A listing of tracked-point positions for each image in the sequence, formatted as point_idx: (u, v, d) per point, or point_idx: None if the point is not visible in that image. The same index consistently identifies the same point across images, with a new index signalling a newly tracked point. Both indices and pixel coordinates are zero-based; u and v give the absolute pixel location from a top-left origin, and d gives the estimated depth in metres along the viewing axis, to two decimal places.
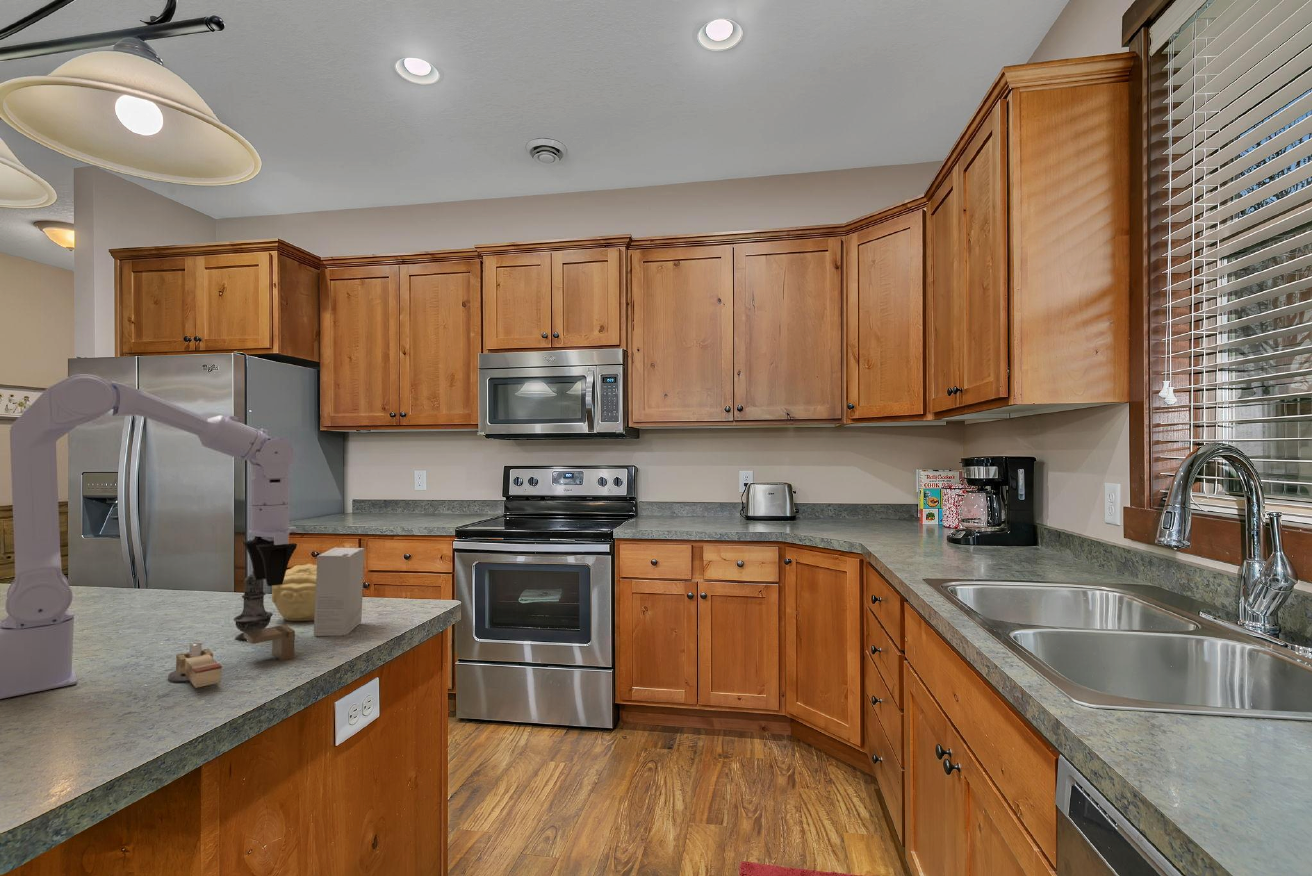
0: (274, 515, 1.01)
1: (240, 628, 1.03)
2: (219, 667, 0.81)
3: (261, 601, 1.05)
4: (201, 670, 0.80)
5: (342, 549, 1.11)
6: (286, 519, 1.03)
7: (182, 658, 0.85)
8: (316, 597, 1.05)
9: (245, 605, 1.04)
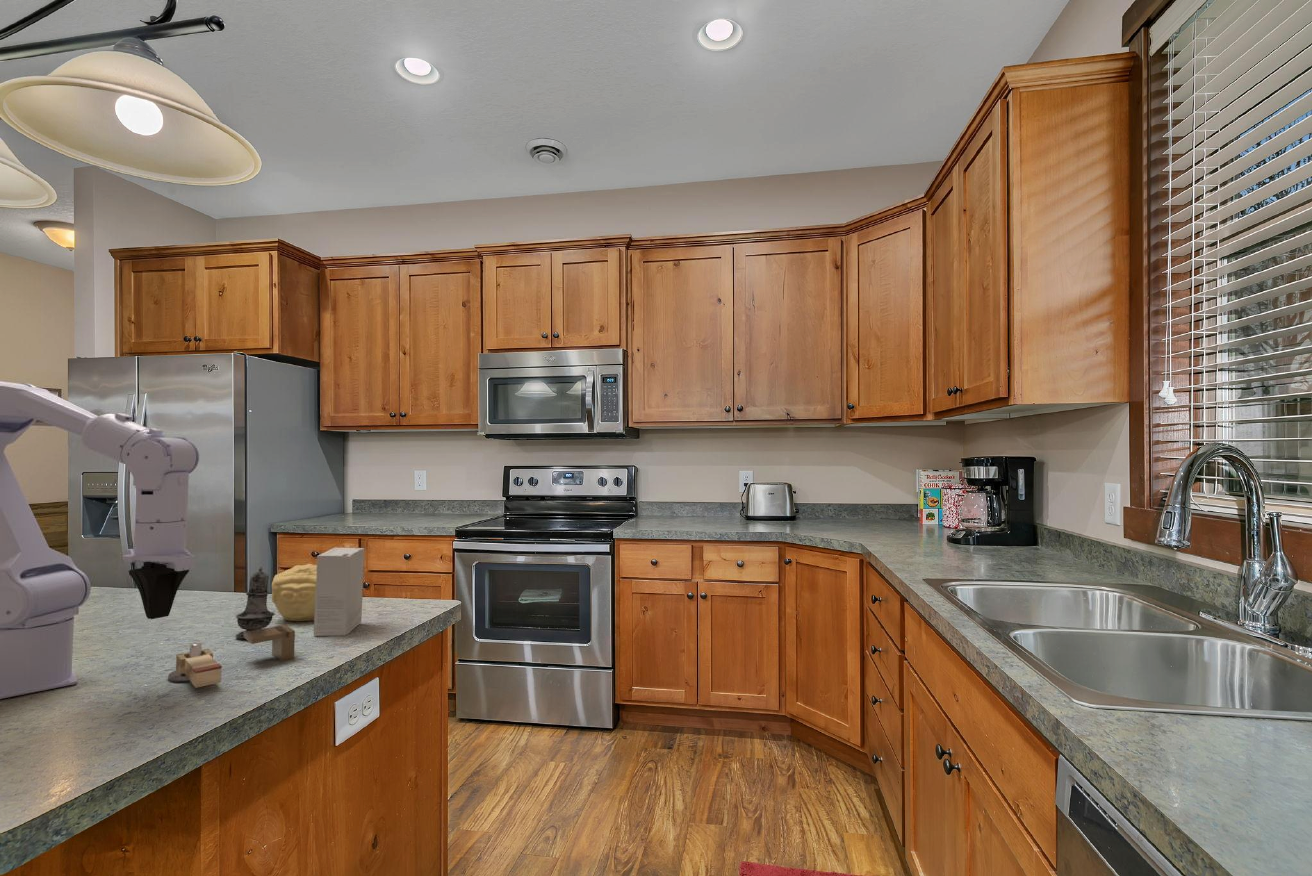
0: None
1: (243, 625, 1.03)
2: (219, 667, 0.81)
3: (265, 599, 1.06)
4: (201, 670, 0.80)
5: (342, 549, 1.11)
6: None
7: (182, 658, 0.85)
8: (316, 597, 1.06)
9: (250, 602, 1.05)
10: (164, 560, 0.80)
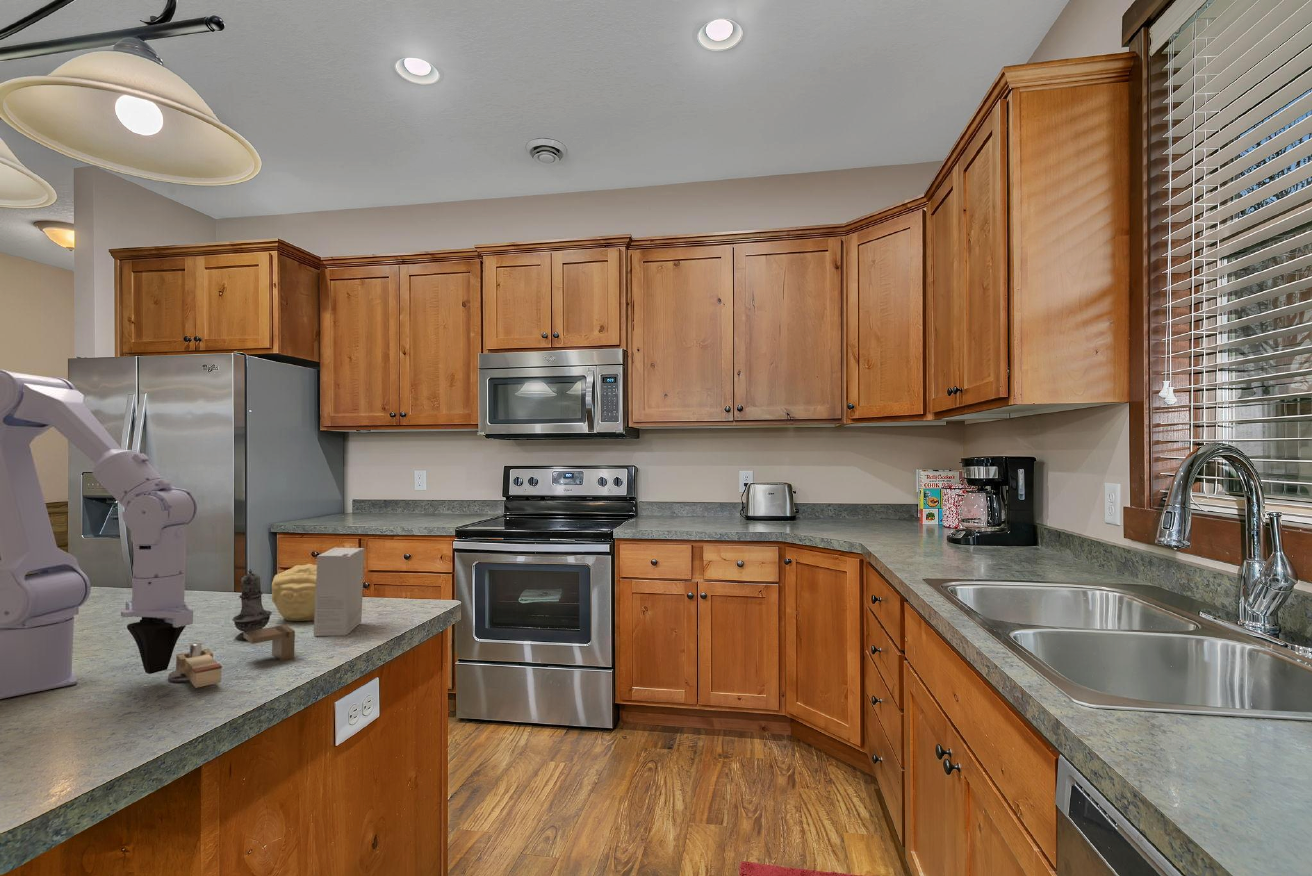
0: None
1: (242, 628, 1.03)
2: (219, 667, 0.81)
3: (260, 600, 1.05)
4: (201, 670, 0.80)
5: (342, 549, 1.11)
6: None
7: (182, 658, 0.85)
8: (316, 597, 1.05)
9: (245, 605, 1.04)
10: (162, 616, 0.80)
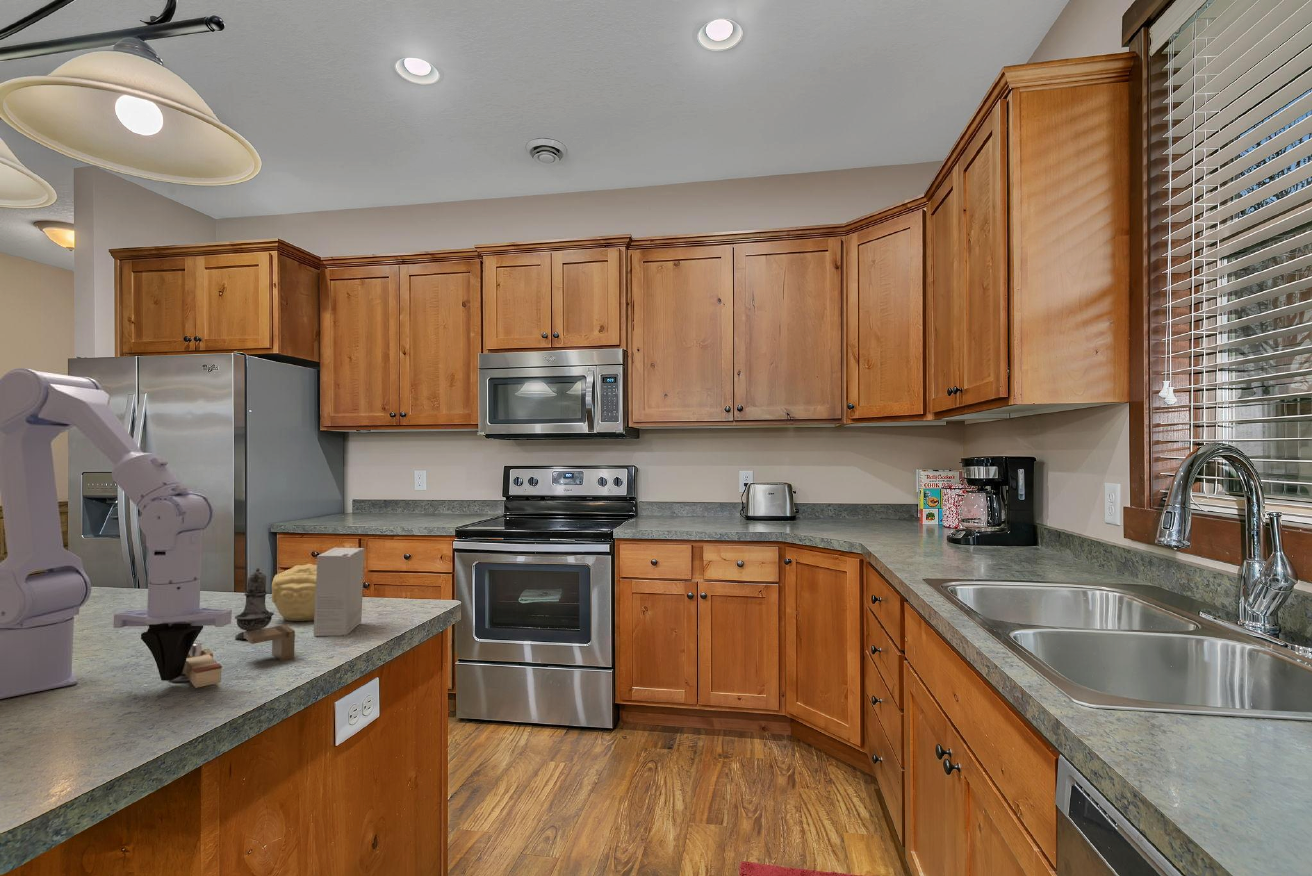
0: None
1: (245, 626, 1.03)
2: (219, 667, 0.81)
3: (264, 599, 1.06)
4: (201, 670, 0.80)
5: (342, 549, 1.11)
6: None
7: None
8: (316, 597, 1.05)
9: (249, 603, 1.05)
10: (201, 618, 0.81)
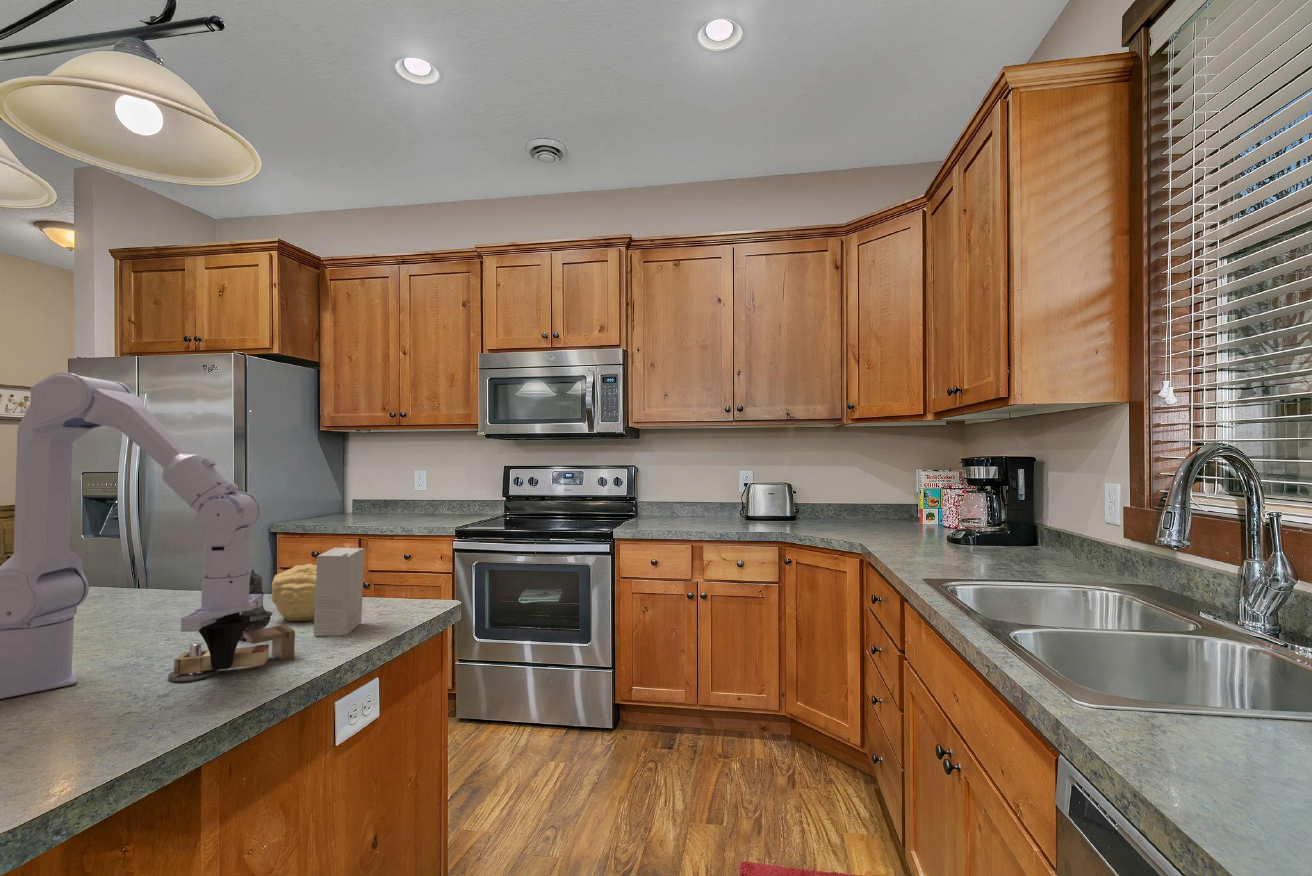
0: (212, 590, 0.84)
1: (245, 628, 1.03)
2: (268, 645, 0.91)
3: (262, 600, 1.06)
4: (264, 649, 0.89)
5: (342, 549, 1.11)
6: (230, 595, 0.85)
7: (197, 657, 0.85)
8: (316, 597, 1.05)
9: None
10: (255, 601, 0.91)
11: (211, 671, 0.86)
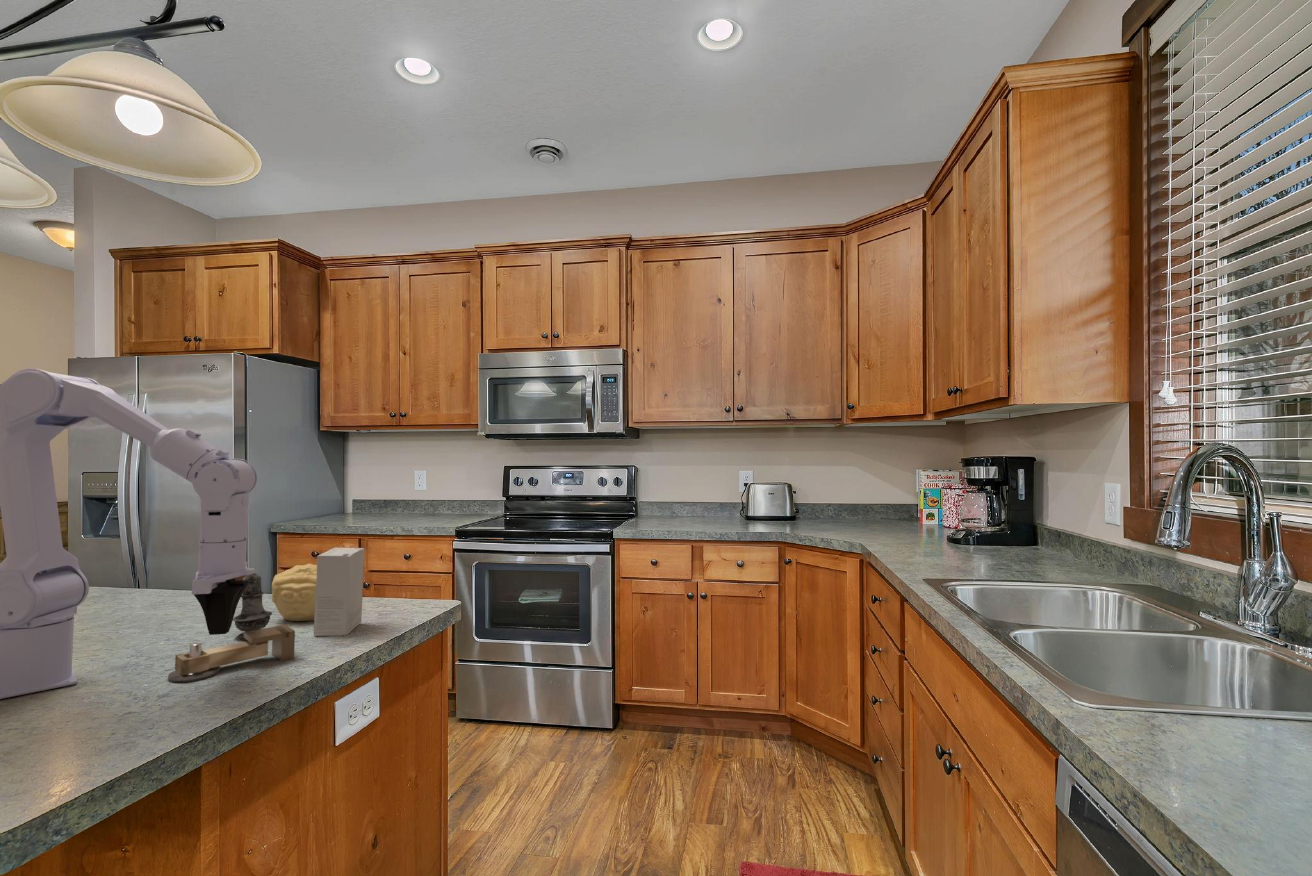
0: (214, 555, 0.84)
1: (245, 628, 1.03)
2: None
3: (261, 599, 1.06)
4: None
5: (342, 549, 1.11)
6: (233, 560, 0.85)
7: (204, 655, 0.86)
8: (316, 597, 1.06)
9: (247, 605, 1.04)
10: None
11: (211, 671, 0.86)
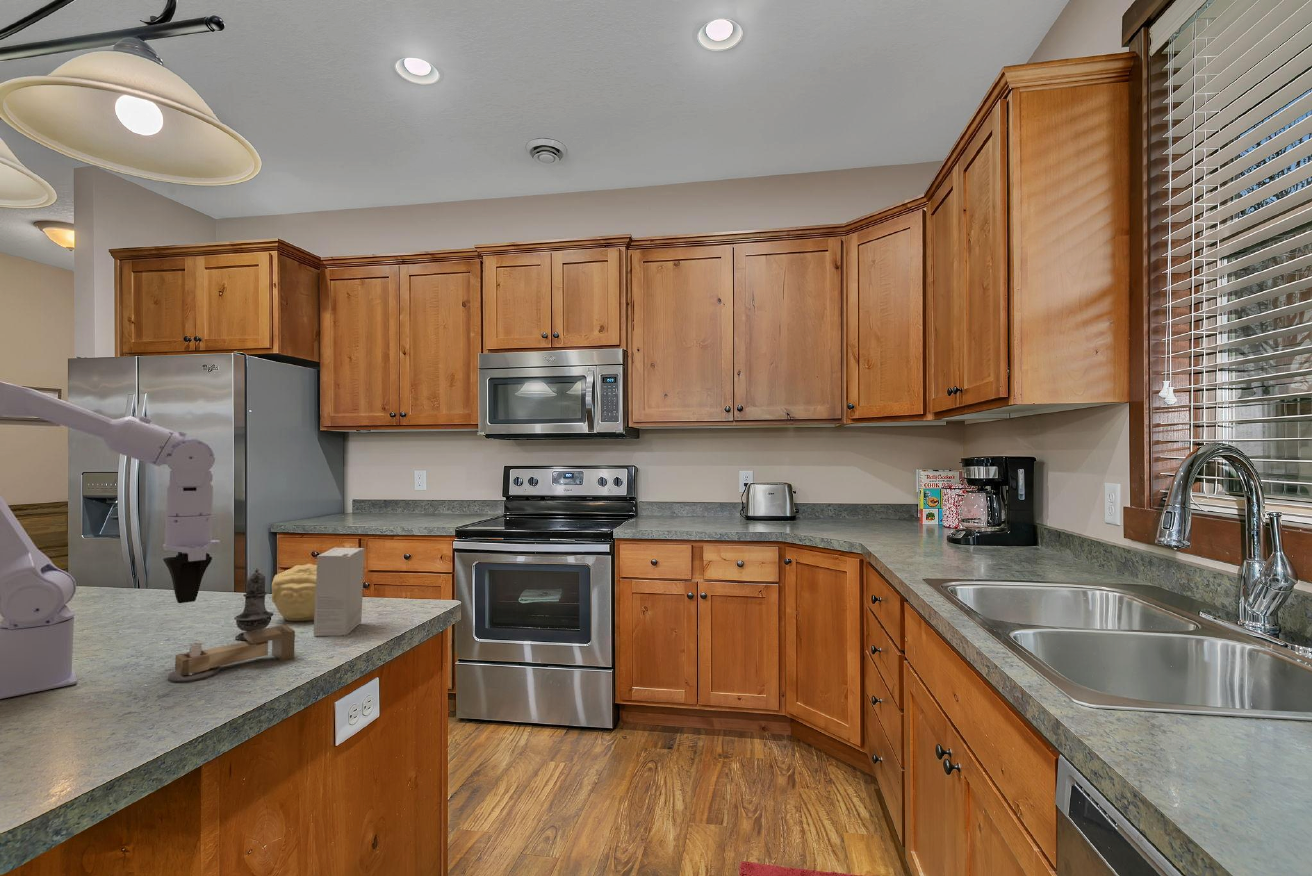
0: (192, 527, 0.91)
1: (247, 627, 1.03)
2: None
3: (264, 599, 1.06)
4: None
5: (342, 549, 1.11)
6: (207, 531, 0.93)
7: (205, 655, 0.86)
8: (316, 597, 1.05)
9: (250, 604, 1.04)
10: None
11: (211, 671, 0.86)
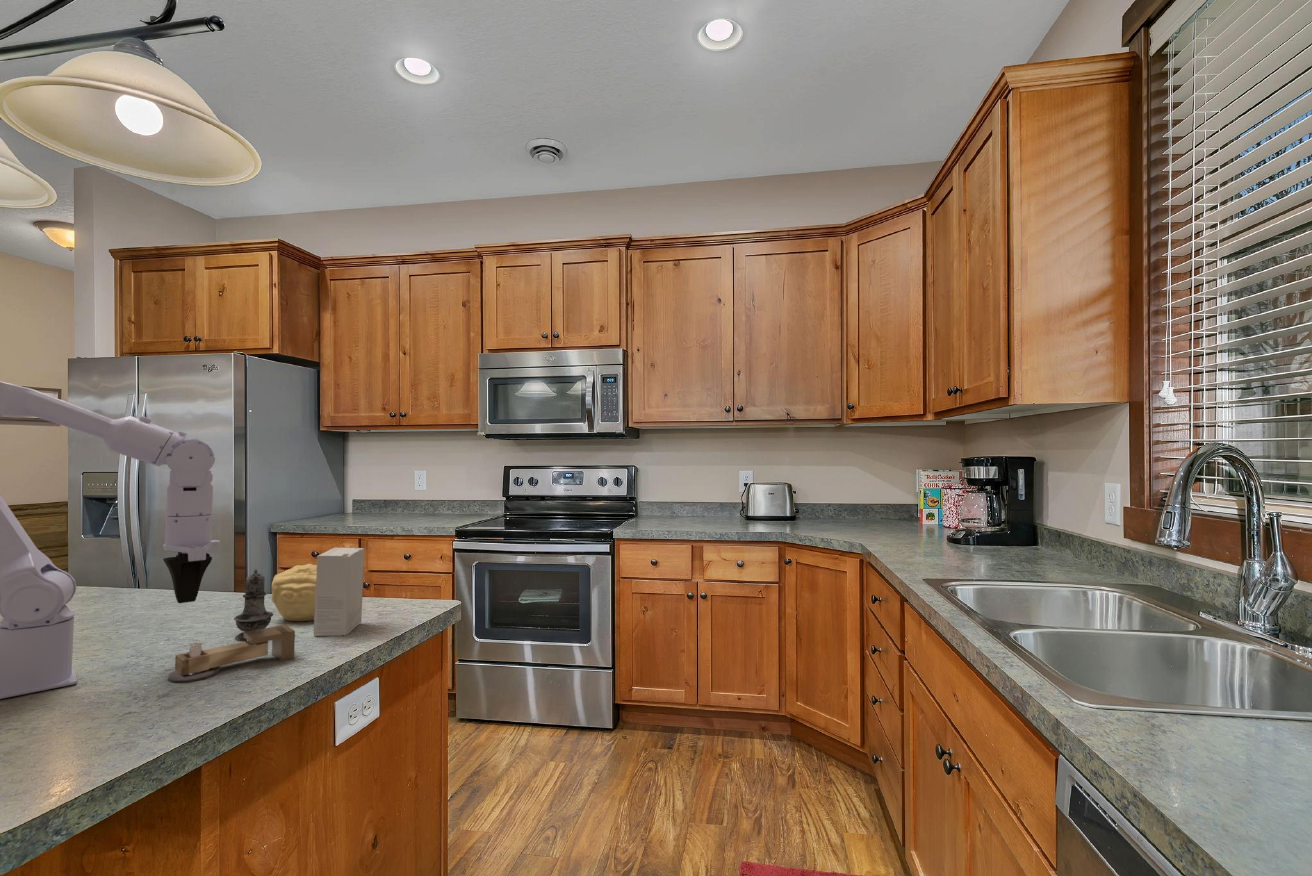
0: (192, 527, 0.91)
1: (247, 628, 1.03)
2: None
3: None
4: None
5: (342, 549, 1.11)
6: (207, 531, 0.93)
7: (205, 655, 0.86)
8: (316, 597, 1.05)
9: (250, 605, 1.04)
10: None
11: (211, 671, 0.86)
